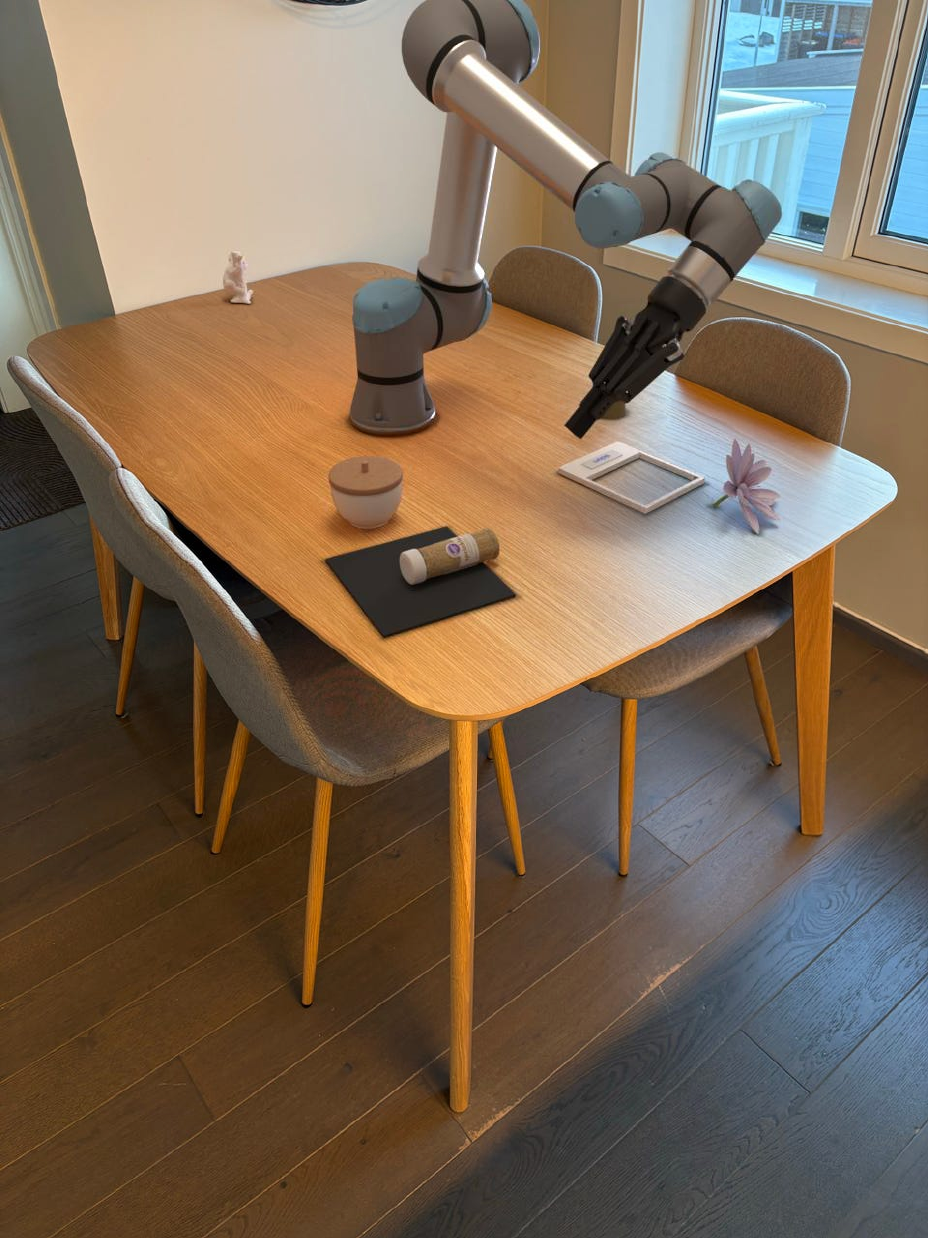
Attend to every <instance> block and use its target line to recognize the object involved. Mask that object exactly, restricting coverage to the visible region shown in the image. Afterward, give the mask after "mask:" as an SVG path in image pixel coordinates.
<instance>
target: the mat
mask: <svg viewBox="0 0 928 1238" xmlns="http://www.w3.org/2000/svg"><path fill="white" fill-rule="evenodd" d="M455 537H458V536H457V535H456V533H454V531H452V530H451V529H450V527H448V525H445V526H443V527H439V528H434V529H432V530H428V531H424V532H420V533H416V534H413V535H409V536H405V537H402V538H397V539H395V540H391V541H387V542H383V543H380V544H376V545H372V546H368V547H364V548H361V549H358V550H353V551H350V552H346V553H343V554H339V555H334V556H331V557H328V558H327V557H326V558H325V560H324V561H325V563H326V564H327V565H328V566H329V568H330V569H331V571H332V572H333V573H334V575H335V576H336V577H337V578H338V580H339V581H340V582H341V584H342V585H343V587H344V588H345V589H346V591H347V592H348V593H349V594H350V596H351V597H352V598H353V600H354V601H355V602H356V603H357V605H358V606H359V608H360V609H361V610H362V611H363V613H364V614H365V615H366V617H367V618H368V619H369V621H370V622H371V623H372V624H373V626H374V627H375V629H376V630H377V631H378V632H379V634H380V635H381V636H382V638H384V639H385V638H388V637H392V636H395V635H398V634H402V633H404V632H407V631H411V630H414V629H417V628H420V627H423V626H427V625H430V624H433V623H437V622H440V621H443V620H447V619H449V618H453V617H456V616H459V615H463V614H465V613H468V612H472V611H475V610H478V609H482V608H485V607H488V606H492V605H494V604H497V603H500V602H503V601H507V600H510V599H514V598H516V597H517V594H516V593H515V592H514V591H513V590H512V589H511V588H510V587H509V586H508V585H507V584H506V583H505V582H504V581H503V580H502V579H501V578H500V577H499V576H498V575H497V574H496V573H495V572H494V571H493V570H492V569H491V568H490V567H489V566H488V565H487V564H486V563H485V561H484V562H481V563H478V564H476V565H473V566H470V567H467V568H464V569H461V570H458V571H454V572H451V573H448V574H445V575H439V576H436V577H433V578H429V579H427V580H425V581H424V582H421V583H418V584H414V585H411V584H409V583H408V582H407V581H406V580H405V578H404V576H403V574H402V571H401V567H400V555H401V554H402V553H403V552H405V551H408V550H411V549H420V548H423V547H426V546H430V545H432V544H435V543H438V542H441V541H445V540H448V539H451V538H455Z"/></svg>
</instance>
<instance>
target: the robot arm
mask: <svg viewBox="0 0 928 1238" xmlns="http://www.w3.org/2000/svg"><path fill="white" fill-rule="evenodd" d="M402 32H403V33H402V37H401V56H402V63H403V65H404V68H405V71H406V73H407V74H406V75H407V76H408V78H409V80H410V81H411V83H412V84H413V86H414V87H415V88H416V89H417V91H419V93H420V94H421V95H422V96H423V97H424V98H425V99H426V100H427V101H428V102H429V103H430V104H432V105H433V106H434V107H435V108H437V109H438V110H439V111H441V112H442V113H446V118H445V124H444V131H443V139H442V149H441V155H440V161H439V169H438V177H437V186H436V193H435V202H434V206H433V207H434V208H433V215H432V223H431V230H430V237H429V246H428V252H427V254H425V255H424V256H422V257H421V258H420V259H418V262H417V269H416V277H415V280H414V279H412V278H409V277H401V276H399V277H397V276H396V277H390V278H387V279H385V278H381V279H380V278H379V279H377V280H373V281H371V282H369V283H366V284H364V285H363V286H362V287H360V288H359V289H358V290H357V291H356V293H355V294H354V296H353V300H352V316H351V320H352V321H351V322H352V325H353V335H354V346H355V360H356V362H355V363H356V373H357V379H356V384H355V388H354V390H353V395H352V399H351V403H350V407H349V418H350V420H349V421H350V423H351V425H352V426H353V427H354V428H355V429H357V430H358V431H361V432H363V433H366V434H369V435H374V436H380V437H381V436H382V437H398V436H407V435H412V434H416V433H419V432H421V431H424V430H426V429H428V428H429V427H431V425H433V423H434V422H435V421H436V408H435V407H436V406H435V403H434V400H433V396H432V395H431V392H430V390H429V386H428V384H427V381H426V379H425V371H424V369H425V368H424V363H425V362H424V354H427V353H429V352H432V351H435V350H437V349H439V348H443V347H447V346H448V345H452V344H454V343H459V342H462V341H465V340H467V339H469V338H471V336H473V335H475V334H477V333H479V332H480V331H481V330H482V329H484V327H485V325H486V324H487V322H488V320H489V318H490V316H491V311H492V304H493V302H492V301H493V299H492V293H491V292H489V290H488V289H490V286H489V283H488V281H487V280H486V278H485V272H484V268H483V267H482V266H481V265H480V264H479V261H478V260H479V254H480V250H481V245H482V244H481V243H482V238H483V232H484V226H485V221H486V215H487V209H488V203H489V197H490V191H491V186H492V179H493V174H494V169H495V164H496V163H495V162H496V157H497V151H498V150H499V151H500V152H502V153H503V154H504V155H505V156H507V157H508V158H509V159H510V160H511V161H512V162H514V163H515V164H516V165H517V166H518V167H520V168H521V169H522V170H523V171H524V172H526V173H527V174H528V175H529V176H530V177H531V178H533V179H534V180H535V181H536V182H537V183H539V184H540V185H541V186H542V187H543V188H545V189H546V190H547V191H548V192H549V193H550V194H551V195H553V196H554V197H555V198H557V200H559V201H560V202H562V203H563V204H564V205H565V206H566V207H567V208H569V209H570V210H571V211H572V212H573V213H574V223H575V227H576V229H577V230H578V233H579V235H580V238H581V239H582V240H583V241H584V242H585V244H587V245H588V246H590V247H591V248H595V249H599V250H604V249H609V248H618V247H623V246H625V245H628V244H630V243H631V242H634V241H637V240H640V239H642V238H645V237H649V236H652V235H655V234H658V233H661V232H664V231H668V230H673V231H675V232H677V233H678V234H679V235H681V236H683V237H684V238H686V239H687V240H689V241H690V243H689V244H688V245H687V246H686V247H685V249H684V250H683V251H682V253H680V254H679V256H677V258H676V260H675V261H674V262H673V263H672V264H671V266H669V268H668V269H667V275H665V276H662V277H661V278H660V279H659V281H658V282H657V283H656V285H655V286H654V287H653V289H652V290H651V291H650V292H649V293H648V295H647V303H646V306H645V307H644V308H643V309H641V310H640V311H638V313H636V315H634V317H632V318H625V317H624V315H620V316H619V317H617V319H616V321H615V325H614V329H613V331H612V333H611V335H610V337H609V338H608V340H607V342H606V343H605V345H604V347H603V348H602V350H601V352H600V354H599V356H598V358H597V359H596V361H595V362H594V364H593V365H592V367H591V369H590V371H589V373H588V378H589V379H590V381H591V383H592V386H591V389H590V390H589V391H588V392H587V393H586V394H585V396H584V397H583V398H582V399H581V401H579V404H578V407H577V409H576V410H575V411H574V412H573V414H572V415H571V416H570V417H569V418H568V420H567V421H566V422H565V423H564V425H563V426H564V427H565V428H566V429H567V430H569V432H571V434H573V435H574V436H575V437H577V438H578V439H579V440H582V439H583V437H584V436H585V435H586V434H587V433H588V432H589V430H590V429H591V428H592V427H593V425H594V424H595V423H596V422H597V421H599V420H601V419H603V418H602V417H603V415H604V414H605V413H606V412H607V411H608V409H609V408H610V407H611V406H612V404H613V403H616V402H618V401H622V402H624V403H625V405H626V404H629V403H630V402H631V401H633V400H634V399H635V398H636V397H637V396H639V395H640V394H641V393H642V392H643V391H644V390H645V389H646V388H647V387H648V386H649V385H650V384H652V383H653V382H654V381H655V380H656V379H657V378H658V377H660V376H661V375H662V374H663V373H664V372H666V370H668V368H670V367H671V366H673V365H675V364H677V363H679V362H680V361H682V360H684V358H685V356H686V355H685V353H684V352H683V350H682V349H681V346H680V342H681V341H682V339H683V336H684V333H690V332H692V331H693V330H694V328H696V326H697V325H698V324H699V322H700V321H701V320H702V318H703V317H704V316H705V315H706V314H707V308H711V307H712V306H713V305H714V304H715V302H716V301H717V300H718V298H719V297H720V296H721V295H722V294H723V293H724V291H725V290H726V289H727V288H728V287H729V285H730V284H731V283H732V282H733V281H734V280H735V278H736V277H737V276H738V275H739V273H740V272H741V271H742V270H743V268H744V267H745V266H746V265H747V264H748V263H749V261H750V260H751V259H752V257H754V256H755V254H756V253H757V252H758V251H759V249H760V248H761V247H763V246H764V245H765V243H766V241H767V239H768V238H769V236H770V235H771V234H772V233H773V231H774V230H775V228H776V227H777V226H778V224H779V223H780V221H781V220H782V217H783V211H782V204H781V202H780V201H779V198H777V195H775V194H774V192H772V190H770V188H768V187H767V186H766V185H764V184H763V183H761V182H759V181H757V180H752V179H750V178H745V179H741V180H740V181H739V182H738V183H737V184H736V185H734V186H733V188H731V189H729V188H728V187H725V186H723V185H720V184H719V183H717V182H715V181H714V180H712V179H711V178H709V177H707V176H706V175H704V174H703V173H701V172H700V171H699V170H697V169H695V168H693V167H692V166H690V165H689V164H687V163H686V162H685V160H682V159H681V158H678V157H675V156H673V155H672V154H668V153H667V152H665V151H664V152H663V151H658V152H654V153H652V154H651V155H649V157H648V158H647V159H645V160H643V161H642V162H641V164H640V165H639V167H638V168H637V170H636V171H635V172H634V175H630V174H628V173H627V172H625V171H624V170H623V169H621V167H619V166H618V165H617V164H615V163H614V162H613V161H612V160H610V159H609V158H608V157H607V156H605V155H604V154H602V153H601V151H599V150H598V149H597V148H595V146H593V145H592V144H590V143H589V142H588V141H587V140H586V139H584V138H583V137H582V136H581V135H579V134H578V133H577V132H576V131H575V130H573V129H572V128H571V127H570V126H568V125H567V124H566V123H565V122H563V121H562V120H561V119H560V118H559V117H557V116H556V115H555V114H554V113H553V112H551V111H550V110H549V109H548V108H547V107H545V106H544V105H543V104H541V103H540V102H539V101H538V100H537V99H535V97H533V96H532V95H530V94H529V93H528V92H527V91H525V90H524V89H523V88H522V87H521V86H519V84H521V83H522V82H524V81H526V79H528V77H529V76H530V75H532V74H533V73H534V71H535V69H536V67H537V64H538V62H539V58H540V53H541V38H540V30H539V27H538V23H537V20H536V19H534V16H533V12H532V10H531V9H530V7H529V6H528V4H526V2H525V1H524V0H424V1H422V2H421V3H420V4H419V5H418V6H417V7H416V8H415V9H414V10H413V11H412V13H411V14H410V15H409V18H408V19H407V20H406V23H405V26H404V28H403V31H402Z"/></svg>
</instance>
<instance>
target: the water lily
mask: <svg viewBox="0 0 928 1238" xmlns="http://www.w3.org/2000/svg"><path fill="white" fill-rule="evenodd" d="M725 456H726V457H725V465H726V471H727V475H728V477H729V480H726V481H725V482H724V483H723V486H722V490H723V492H724V494H725V495H723V496H721V497H720V498H719V499H717V500H716V501H715V502H714V503H712V507H713V508H714V509H715V508H717V507H718V506H719V505H720V504H722V503H723V502H724V501H726V500H727V499H728V498H732V499H736V498H737V500H738V503H739V508H740V510H741V512H742V515H743V516H744V518H745V520H746V522H747V523H748V525H749V526H750V527H751V529H752V530H753V531H754V532H755V534H757V535H758V534H759V533H760V525H759V521H758V518H757V515H756V514H755V511H754V510H752V507H753V508H754V509H755V510H757V511H758V512H760V513H761V514H762V515H764V516H766V517H768V518H770V519H772V520H774V521H777V522H780V518H779V516H778V515H777V513H776V512H775V511H773V509H772V508H771V506H773V505H774V504H775V503H776V499H780V498H781V497H782V495H780V493H778V492H776V491H774V490H772V489H769V488H760V487H762V485H760V484H761V483H764V482H765V481H766V480H767V479H768V478H769V476H770V475H771V474H772V468H771V467H770V466H767V463H766V460H764V459H760V460H758V461H756V462H754V461H755V452H752V447H751V444H750V443H748V444H747V445H746V446H745V449H744V450H743V452H742V450H741V446H740V444H739V442H738V440H737V439H736V438H733V441H732V447H731V455H730V454H726V455H725ZM755 487H756V488H755ZM751 506H752V507H751Z"/></svg>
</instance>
